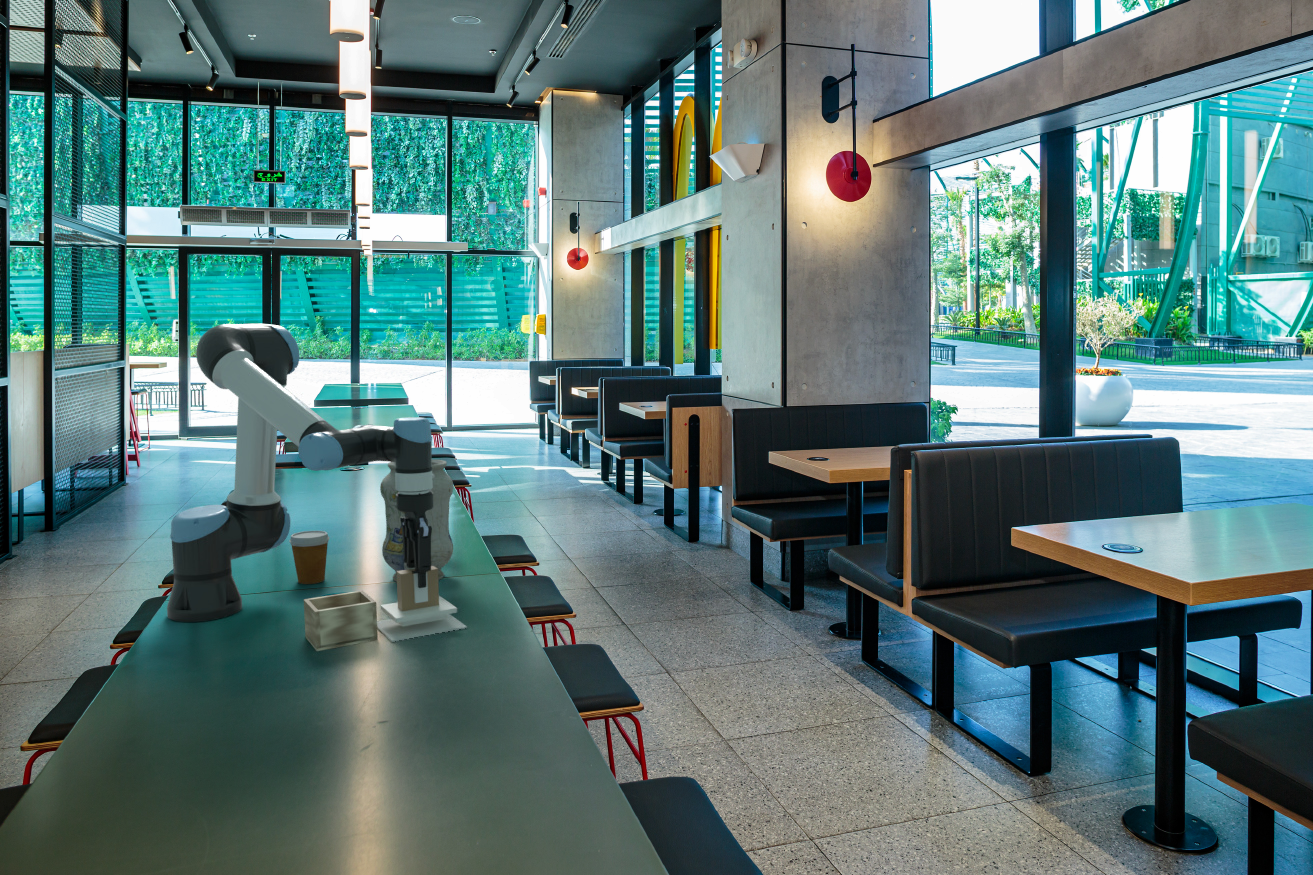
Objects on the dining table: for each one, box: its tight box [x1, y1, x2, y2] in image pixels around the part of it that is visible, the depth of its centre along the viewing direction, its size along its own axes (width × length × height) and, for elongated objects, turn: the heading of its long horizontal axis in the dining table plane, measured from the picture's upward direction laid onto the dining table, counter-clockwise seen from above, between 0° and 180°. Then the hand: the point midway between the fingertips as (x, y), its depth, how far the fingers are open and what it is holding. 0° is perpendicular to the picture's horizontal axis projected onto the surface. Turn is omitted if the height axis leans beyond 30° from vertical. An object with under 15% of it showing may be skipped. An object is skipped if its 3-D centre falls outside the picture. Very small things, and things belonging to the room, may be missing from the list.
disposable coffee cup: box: [288, 530, 331, 585], centre depth 232 cm, size 10×10×12 cm
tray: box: [377, 614, 468, 643], centre depth 197 cm, size 16×14×1 cm
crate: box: [303, 589, 379, 652], centre depth 188 cm, size 12×10×8 cm
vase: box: [379, 459, 454, 583], centre depth 234 cm, size 18×18×30 cm
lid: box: [380, 566, 458, 627], centre depth 196 cm, size 13×11×10 cm
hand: (418, 599), depth 196 cm, fingers closed on lid, 3 cm apart
